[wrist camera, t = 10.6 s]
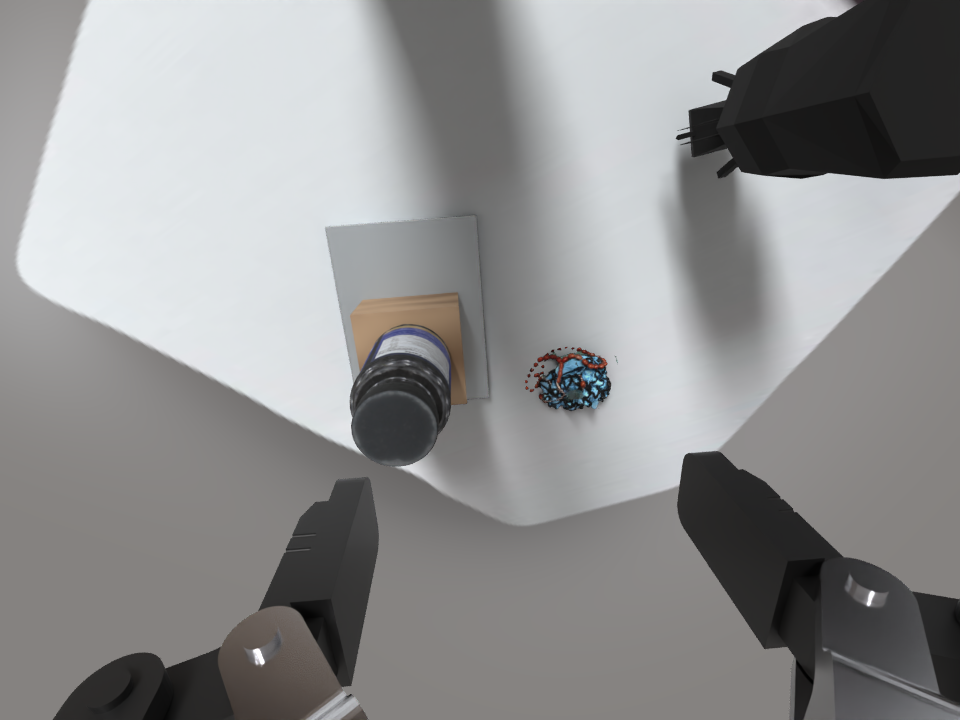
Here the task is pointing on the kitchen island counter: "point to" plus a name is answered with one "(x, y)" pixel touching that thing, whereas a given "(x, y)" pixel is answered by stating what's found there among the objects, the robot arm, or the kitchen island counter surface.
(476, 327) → the build plate
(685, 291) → the kitchen island counter surface
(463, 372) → the wooden block
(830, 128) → the toy
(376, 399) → the pill bottle
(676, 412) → the kitchen island counter surface
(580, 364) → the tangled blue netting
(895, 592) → the robot arm
